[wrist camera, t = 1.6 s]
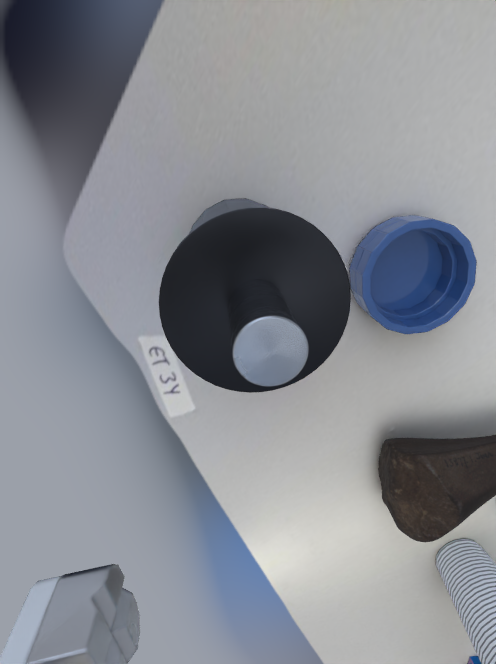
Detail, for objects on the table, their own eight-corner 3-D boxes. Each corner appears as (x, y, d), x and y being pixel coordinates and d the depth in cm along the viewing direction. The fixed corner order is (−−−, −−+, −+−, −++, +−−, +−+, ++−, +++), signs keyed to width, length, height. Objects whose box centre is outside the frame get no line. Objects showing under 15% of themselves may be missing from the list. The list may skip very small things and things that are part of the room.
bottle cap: (333, 304, 41) (345, 318, 37) (372, 201, 37) (389, 204, 34) (424, 330, 42) (445, 345, 38) (469, 232, 39) (496, 239, 35)
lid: (173, 391, 25) (158, 470, 18) (148, 212, 21) (119, 231, 15) (343, 375, 25) (389, 448, 19) (346, 199, 22) (405, 211, 15)
